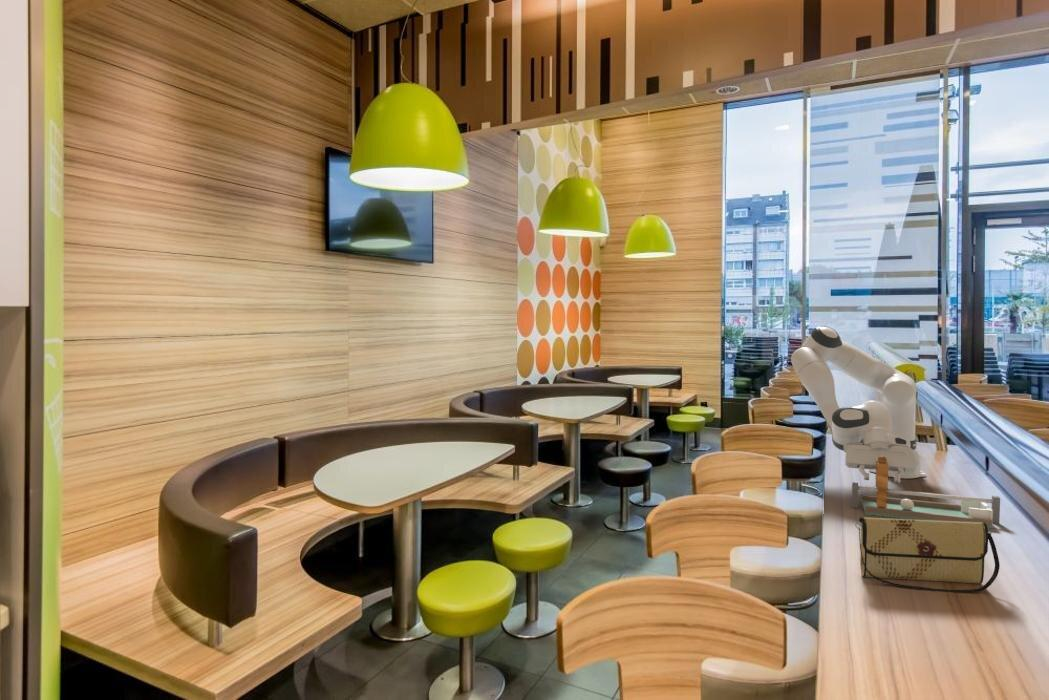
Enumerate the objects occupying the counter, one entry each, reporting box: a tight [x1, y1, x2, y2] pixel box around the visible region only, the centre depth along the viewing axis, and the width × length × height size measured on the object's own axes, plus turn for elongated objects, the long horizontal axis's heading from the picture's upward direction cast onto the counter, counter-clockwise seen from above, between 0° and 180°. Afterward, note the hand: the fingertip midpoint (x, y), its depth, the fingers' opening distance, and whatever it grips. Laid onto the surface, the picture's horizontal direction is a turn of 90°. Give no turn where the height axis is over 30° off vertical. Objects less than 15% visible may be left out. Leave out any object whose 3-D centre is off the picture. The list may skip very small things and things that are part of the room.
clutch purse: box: [854, 516, 1001, 594], centre depth 135 cm, size 30×7×15 cm, turn 79°
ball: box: [900, 498, 914, 510], centre depth 182 cm, size 4×4×4 cm
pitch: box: [851, 481, 1001, 530], centre depth 181 cm, size 13×38×8 cm, turn 65°
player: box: [875, 456, 889, 508], centre depth 185 cm, size 4×3×16 cm
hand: (881, 480), depth 184 cm, fingers open, 7 cm apart
